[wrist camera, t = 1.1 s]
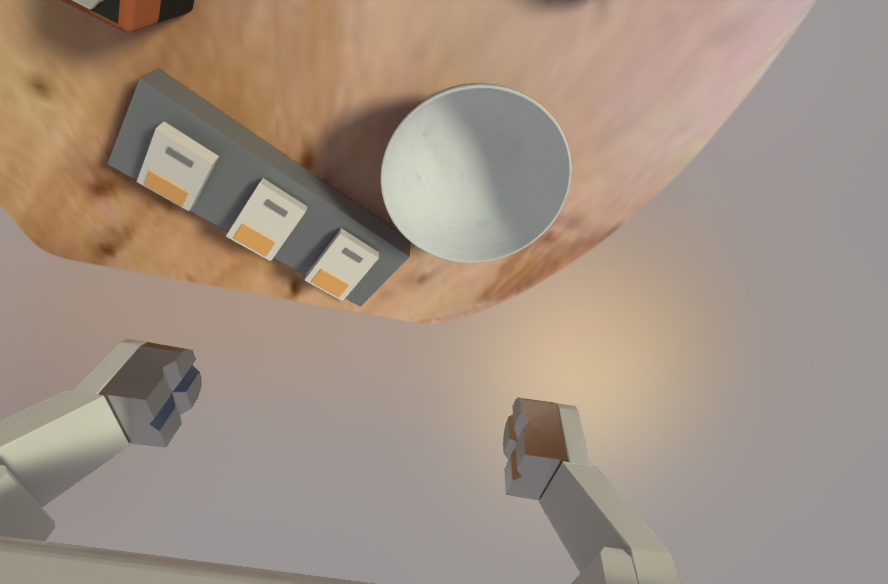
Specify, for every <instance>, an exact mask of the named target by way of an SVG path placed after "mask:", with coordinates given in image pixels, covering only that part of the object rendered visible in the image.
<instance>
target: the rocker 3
mask: <svg viewBox="0 0 888 584" xmlns="http://www.w3.org/2000/svg"><path fill="white" fill-rule="evenodd" d="M378 259H379V252H378V251H376V250H374V249H373V248H371V247H370V246H368V245H367V244H365V243H364V242H362V241H360V240H359V239H357V238H356V237H354V236H353V235H351V234H350V233H348V232H346V231H345V230H343V229H342V228H341V229H340V231H339V232H338V233H337V234H336V236H335V237H334V238H333V240H332V241H331V242H330V244H329V245H328V246H327V248H326V249H325V250H324V251H323V253H322V254H321V255H320V257H319V258H318V259H317V261H316V262H315V263H314V265H313V266H312V267H311V269H310V270H309V271H308V272H307V274H306V277H305V281H307V282H309V283H310V284H312V285H314V286H316V287H318V288H319V289H321V290H323V291H325V292H326V293H328V294H330V295H332V296H334V297H335V298H337V299H339V300H341V301H343V300H344V299H345V298H346V297H347V296H348V294H349V293H350V292H351V291H352V290H353V288H354V287H355V286H356V285H357V284H358V283H359V281H360V280H361V279H362V278H363V277H364V275H365V274H366V273H367V272H368V271H369V269H370V268H371V267H372V266H373V265H374V263H375V262H376V261H377V260H378Z"/></svg>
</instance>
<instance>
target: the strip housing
mask: <svg viewBox="0 0 888 584" xmlns="http://www.w3.org/2000/svg"><path fill="white" fill-rule="evenodd" d="M163 122H166V123H167V124H169V125H171V126H172V127H174V128H175V129H177V130H178V131H180V132H182V133H183V134H185V135H186V136H188V137H189V138H191V139H193V140H194V141H196V142H197V143H199V144H200V145H202V146H204V147H205V148H207V149H208V150H210V151H211V152H213V153H215V154H216V155H218V156H219V158H218V160H217V162H216V163H215V165H214V167H213V169H212V171H211V173H210V175H209V177H208V179H207V181H206V183H205V185H204V187H203V189H202V191H201V193H200V195H199V197H198V199H197V201H196V203H195V204H194V206H193V207H192V208H191V209H190V211H191V212H193V213H195V214H197V215H199V216H200V217H202V218H204V219H206V220H207V221H209V222H211V223H213V224H215V225H216V226H218V227H220V228H222V229H223V230H225V231H227V232H229V231H230V229H231V227H232V226H233V224H234V223H235V221H236V219H237V218H238V216H239V215H240V213H241V212H242V210H243V208H244V207H245V205H246V204H247V202H248V200H249V199H250V197H251V196H252V194H253V193H254V191H255V189H256V188H257V186H258V185H259V183H260V182H261V180H262V179H263V178H264V179H265V180H267V181H268V182H270V183H272V184H273V185H275V186H276V187H278V188H279V189H281V190H283V191H284V192H286V193H287V194H289V195H290V196H292V197H293V198H295V199H297V200H298V201H300V202H301V203H303V204H304V205H306V206H307V210H306V212H305V214H304V215H303V216H302V218H301V219H300V221H299V222H298V224H297V225H296V226H295V228H294V229H293V231H292V232H291V233H290V235H289V236H288V238H287V239H286V240H285V242H284V243H283V245H282V246H281V248H280V249H279V250H278V252H277V253H276V255H275V256H274V257H273V258H275V259H277V260H278V261H280V262H282V263H284V264H286V265H287V266H289V267H291V268H293V269H294V270H296V271H298V272H300V273H302V274H303V275H305V276H306V274H307V272H308V271H309V270H310V269H311V267H312V266H313V265H314V263H315V262H316V261H317V259H318V258H319V257H320V255H321V254H322V253H323V251H324V250H325V249H326V248H327V246H328V245H329V244H330V242H331V241H332V240H333V238H334V237H335V236H336V234H337V233H338V232H339V231H340V229H341V228H342V229H343V230H345V231H346V232H348V233H350V234H351V235H353V236H354V237H356V238H357V239H359V240H360V241H362V242H364V243H365V244H367V245H368V246H370V247H371V248H373V249H374V250H376V251H378V252H379V259H378V260H377V261H376V262H375V263H374V265H373V266H372V267H371V268H370V269H369V271H368V272H367V273H366V274H365V275H364V277H363V278H362V279H361V280H360V281H359V283H358V284H357V285H356V286H355V287H354V288H353V290H352V291H351V292H350V293H349V294H348V296H347V297H346V299H348V300H349V301H351V302H353V303H355V304H357V305H358V306H360V307H361V306H362V305H363V304H364V303H365V302H366V301H367V300H368V298H369V297H370V296H371V295H372V294H373V293H374V292H375V291H376V290H377V289H378V288H379V287H380V286H381V285H382V284H383V283H384V282H385V281H386V280H387V279H388V278H389V277H390V276H391V275H392V274H393V273H394V272H395V271H396V270H397V269H398V268H399V267H400V266H401V265H402V264H403V263H404V262H405V261H406V260H407V259H408V258H409V256H410V243H411V242H410V241H409V240H408V239H407V238H406V237H405V236H404V235H402V234H401V233H399V232H398V231H396V230H395V229H393V228H392V227H390V226H389V225H388V224H386V223H385V222H383V221H382V220H380V219H379V218H377V217H376V216H374V215H373V214H371V213H370V212H368V211H367V210H366V209H364V208H363V207H361V206H360V205H358V204H357V203H355V202H354V201H352V200H351V199H349V198H348V197H346V196H345V195H344V194H342V193H341V192H339V191H338V190H336V189H335V188H333V187H332V186H330V185H329V184H327V183H326V182H324V181H323V180H322V179H320V178H319V177H317V176H316V175H314V174H313V173H311V172H310V171H308V170H307V169H305V168H304V167H303V166H301V165H300V164H298V163H297V162H295V161H294V160H292V159H291V158H289V157H288V156H286V155H285V154H283V153H282V152H281V151H279V150H278V149H276V148H275V147H273V146H272V145H270V144H269V143H267V142H266V141H264V140H263V139H261V138H260V137H259V136H257V135H256V134H254V133H253V132H251V131H250V130H248V129H247V128H245V127H244V126H242V125H241V124H239V123H238V122H237V121H235V120H234V119H232V118H231V117H229V116H228V115H226V114H225V113H223V112H222V111H220V110H219V109H218V108H216V107H215V106H213V105H212V104H210V103H209V102H207V101H206V100H204V99H203V98H201V97H200V96H198V95H197V94H196V93H194V92H193V91H191V90H190V89H188V88H187V87H185V86H184V85H182V84H181V83H179V82H178V81H176V80H175V79H174V78H172V77H171V76H169V75H168V74H166V73H165V72H163V71H162V70H160V69H157V70H155V71H153V72H151V73H149V74H147V75H145V76H143V77H141V78H140V79H139V81H138V84H137V87H136V89H135V92H134V95H133V97H132V100H131V103H130V105H129V108H128V111H127V113H126V116H125V119H124V121H123V124H122V127H121V129H120V132H119V134H118V137H117V140H116V142H115V145H114V148H113V150H112V153H111V156H110V158H109V161H108V165H110V166H112V167H113V168H115V169H117V170H119V171H120V172H122V173H124V174H126V175H128V176H129V177H131V178H133V179H135V180H136V181H137V179H138V177H139V174H140V171H141V168H142V165H143V163H144V160H145V157H146V154H147V152H148V149H149V146H150V143H151V140H152V138H153V135H154V132H155V129H156V128H157V127H158V126H159V125H160V124H162V123H163Z"/></svg>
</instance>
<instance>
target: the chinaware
mask: <svg viewBox="0 0 888 584" xmlns="http://www.w3.org/2000/svg"><path fill="white" fill-rule="evenodd" d="M570 180H571V158H570V152H569V148H568V144H567V141H566V139H565V136H564V134H563V132H562V130H561V128H560V127H559V125H558V124H557V122H556V121H555V119H554V118H553V117H552V116H551V114H550V113H549V112H548V111H547V110H546V109H545V108H544V107H542V106H541V105H540V104H539V103H537V102H536V101H535V100H533V99H532V98H530V97H528V96H527V95H525V94H523V93H521V92H519V91H516V90H514V89H511V88H508V87H505V86H501V85H496V84H488V83H470V84H463V85H458V86H454V87H450V88H447V89H445V90H442V91H440V92H438V93H436V94H434V95H432V96H430V97H429V98H427V99H425V100H424V101H422V102H421V103H420V104H419V105H417V106H416V107H415V108H414V109H413V110H412V111H411V112H410V113H409V114H408V115H407V116H406V117H405V118H404V119H403V120H402V121H401V123H400V124H399V125H398V127H397V128H396V130H395V131H394V133H393V135H392V136H391V138H390V140H389V142H388V145H387V147H386V150H385V153H384V157H383V161H382V166H381V191H382V196H383V200H384V204H385V207H386V209H387V212H388V214H389V216H390V218H391V219H392V221H393V223H394V224H395V226H396V227H397V228H398V230H399V231H400V232H401V233H402V234H403V235H404V236H405V237H406V238H407V239H408V240H409V241H410V242H411V243H413V244H414V245H415V246H417V247H418V248H420V249H421V250H423V251H425V252H427V253H429V254H431V255H433V256H436V257H439V258H442V259H445V260H449V261H455V262H463V263H478V262H487V261H492V260H496V259H500V258H503V257H506V256H509V255H511V254H514V253H516V252H518V251H520V250H522V249H523V248H525V247H527V246H528V245H530V244H531V243H532V242H534V241H535V240H536V239H538V238H539V237H540V236H541V235H542V234H543V233H544V232H545V231H546V230H547V229H548V228H549V227H550V225H551V224H552V223H553V222H554V220H555V219H556V217H557V216H558V214H559V212H560V211H561V209H562V207H563V205H564V202H565V200H566V197H567V194H568V190H569V186H570Z"/></svg>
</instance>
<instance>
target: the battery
mask: <svg viewBox="0 0 888 584" xmlns="http://www.w3.org/2000/svg"><path fill="white" fill-rule="evenodd" d="M62 1H64V2H66V3H68V4H70V5H72V6H74V7H76V8H78V9H80V10H82V11H84V12H86V13H88V14H90V15H92V16H94V17H96V18H98V19H100V20H102V21H104V22H106V23H108V24H110V25H112V26H114V27H116V28H118V29H120V30H122V31H124V32H132V31H135V30H138V29H141V28H144V27H147V26H150V25H153V24H156V23H159V22H162V21H165V20H167V19H170V18H173V17H176V16H179V15H182V14H185V13H188V12H190V11H191V10H192V9H193V4H194V0H62Z"/></svg>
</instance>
